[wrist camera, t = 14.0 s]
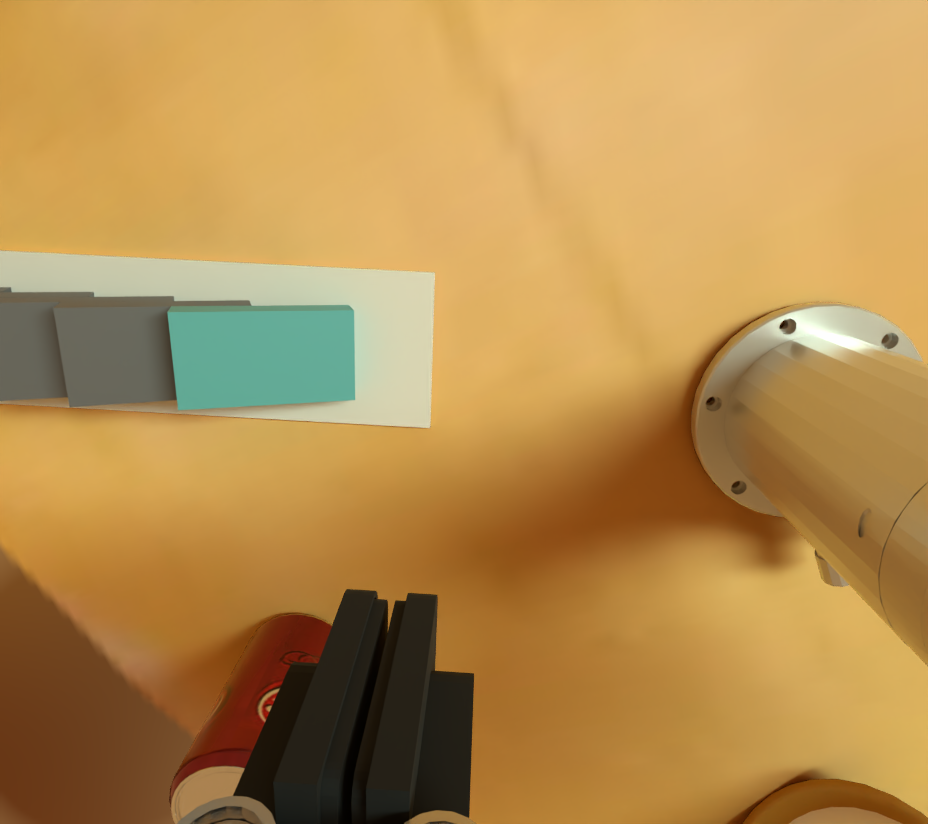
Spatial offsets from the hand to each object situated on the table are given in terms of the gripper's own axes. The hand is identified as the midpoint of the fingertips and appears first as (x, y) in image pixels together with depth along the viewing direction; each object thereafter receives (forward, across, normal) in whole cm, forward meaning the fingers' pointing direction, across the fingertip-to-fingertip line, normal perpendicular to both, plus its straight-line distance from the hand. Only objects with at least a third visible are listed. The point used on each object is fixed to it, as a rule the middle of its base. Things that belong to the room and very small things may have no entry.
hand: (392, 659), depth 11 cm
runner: (+25, +16, 0) cm, 30 cm away
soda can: (+25, +10, +22) cm, 35 cm away
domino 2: (+24, +11, 0) cm, 27 cm away
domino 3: (+24, +6, 0) cm, 25 cm away
